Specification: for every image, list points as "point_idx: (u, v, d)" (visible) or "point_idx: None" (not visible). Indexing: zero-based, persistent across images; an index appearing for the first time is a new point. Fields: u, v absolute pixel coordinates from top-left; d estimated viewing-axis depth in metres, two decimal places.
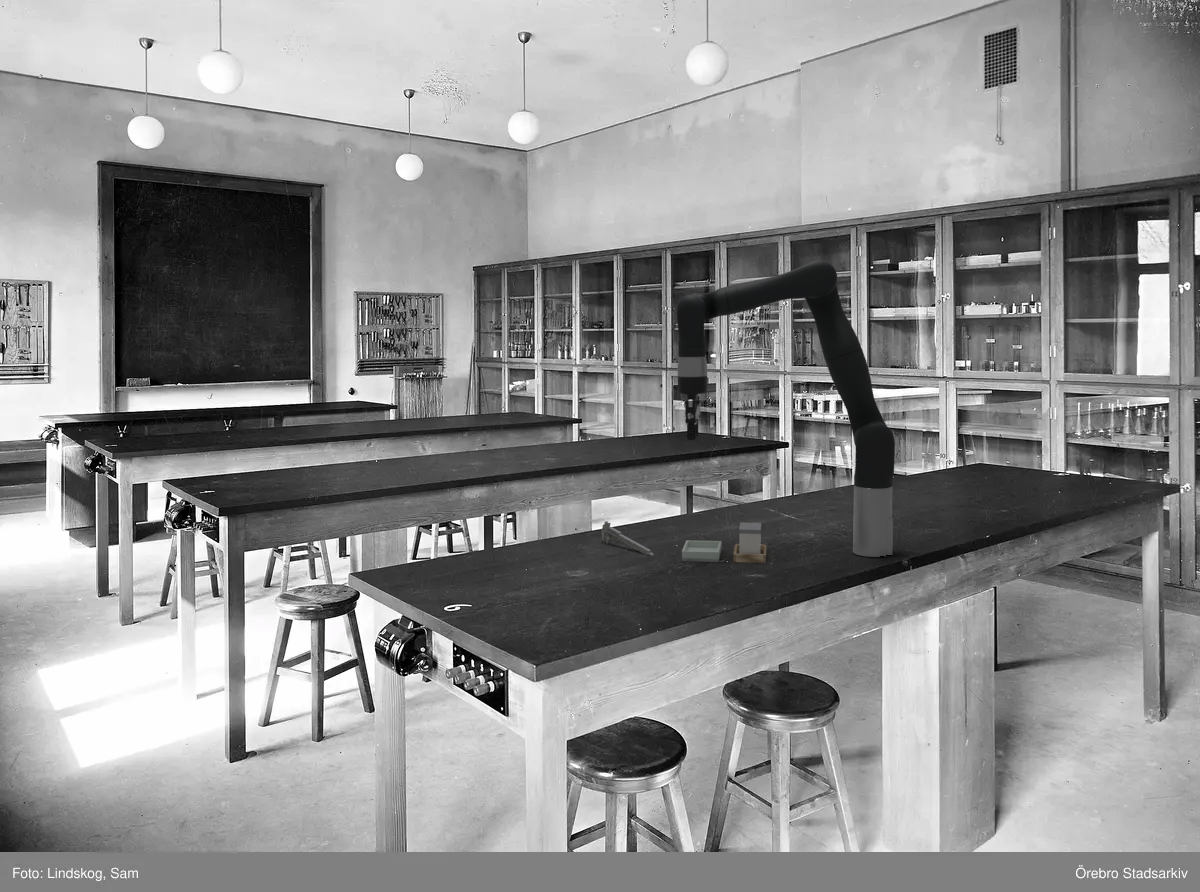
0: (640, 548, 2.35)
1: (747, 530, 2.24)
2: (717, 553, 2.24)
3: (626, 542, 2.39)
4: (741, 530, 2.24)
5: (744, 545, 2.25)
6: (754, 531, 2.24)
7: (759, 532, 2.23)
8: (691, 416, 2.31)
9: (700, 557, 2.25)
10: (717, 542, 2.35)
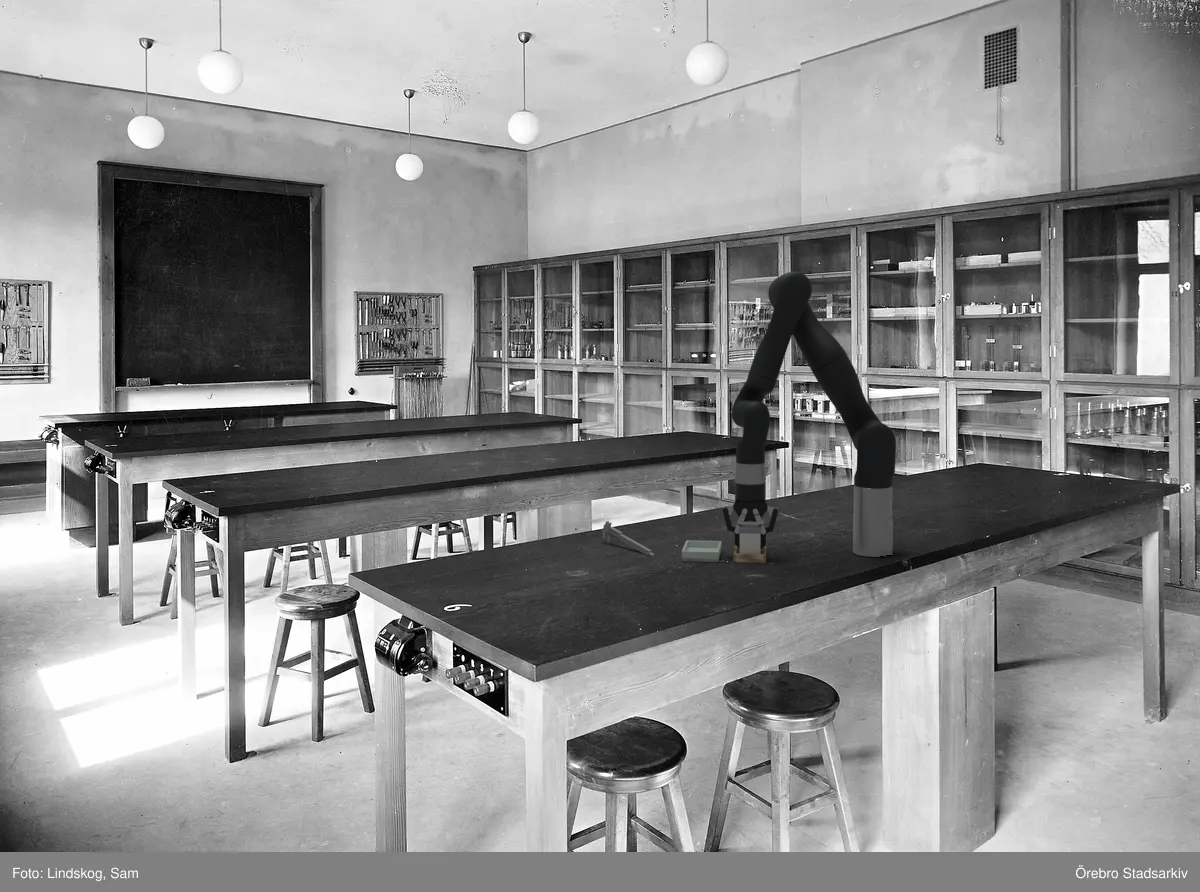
0: (640, 548, 2.35)
1: (747, 530, 2.24)
2: (717, 553, 2.24)
3: (627, 542, 2.39)
4: (741, 530, 2.24)
5: (744, 545, 2.25)
6: (754, 531, 2.24)
7: (759, 532, 2.23)
8: None
9: (700, 557, 2.25)
10: (717, 542, 2.35)
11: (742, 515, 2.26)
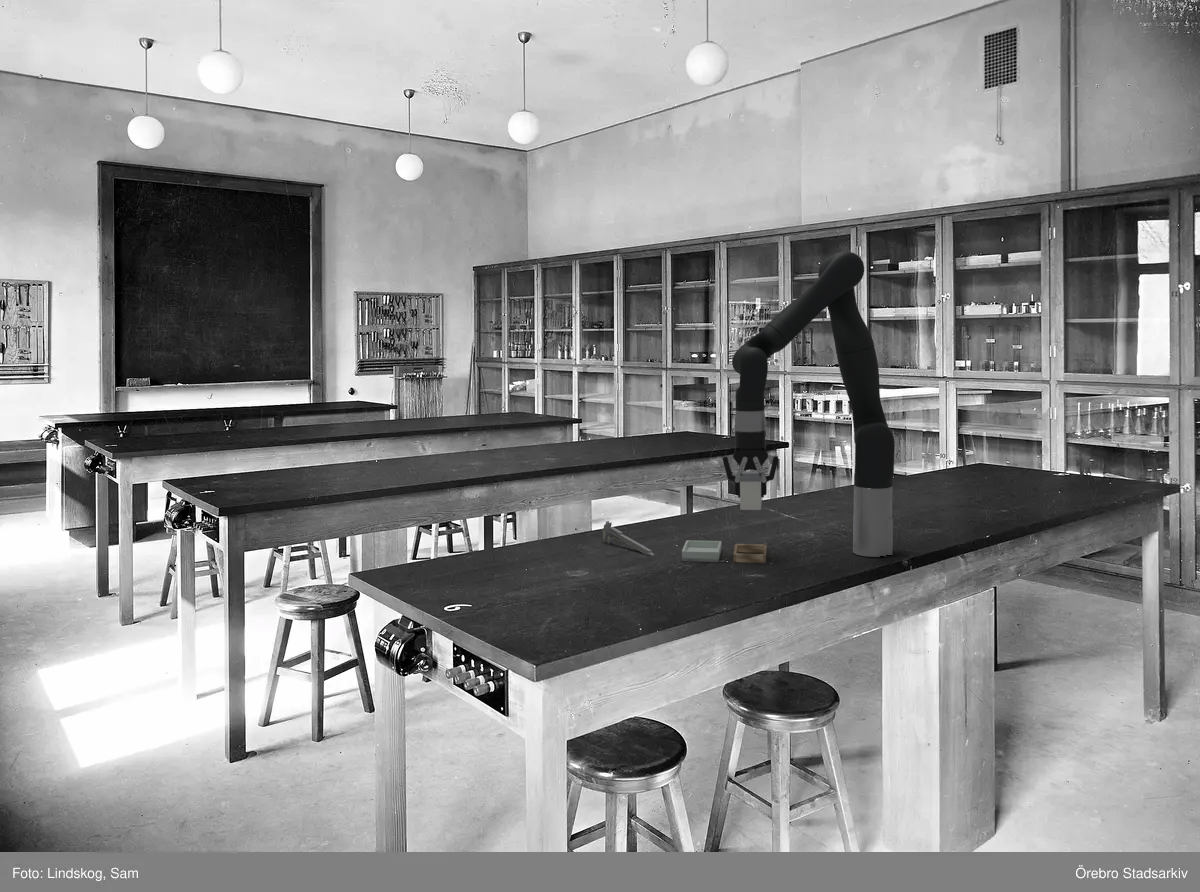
0: (641, 548, 2.35)
1: (748, 478, 2.22)
2: (717, 553, 2.24)
3: (627, 542, 2.39)
4: (742, 478, 2.22)
5: (745, 493, 2.23)
6: (755, 479, 2.22)
7: (760, 480, 2.22)
8: None
9: (700, 557, 2.25)
10: (717, 542, 2.35)
11: (742, 463, 2.24)
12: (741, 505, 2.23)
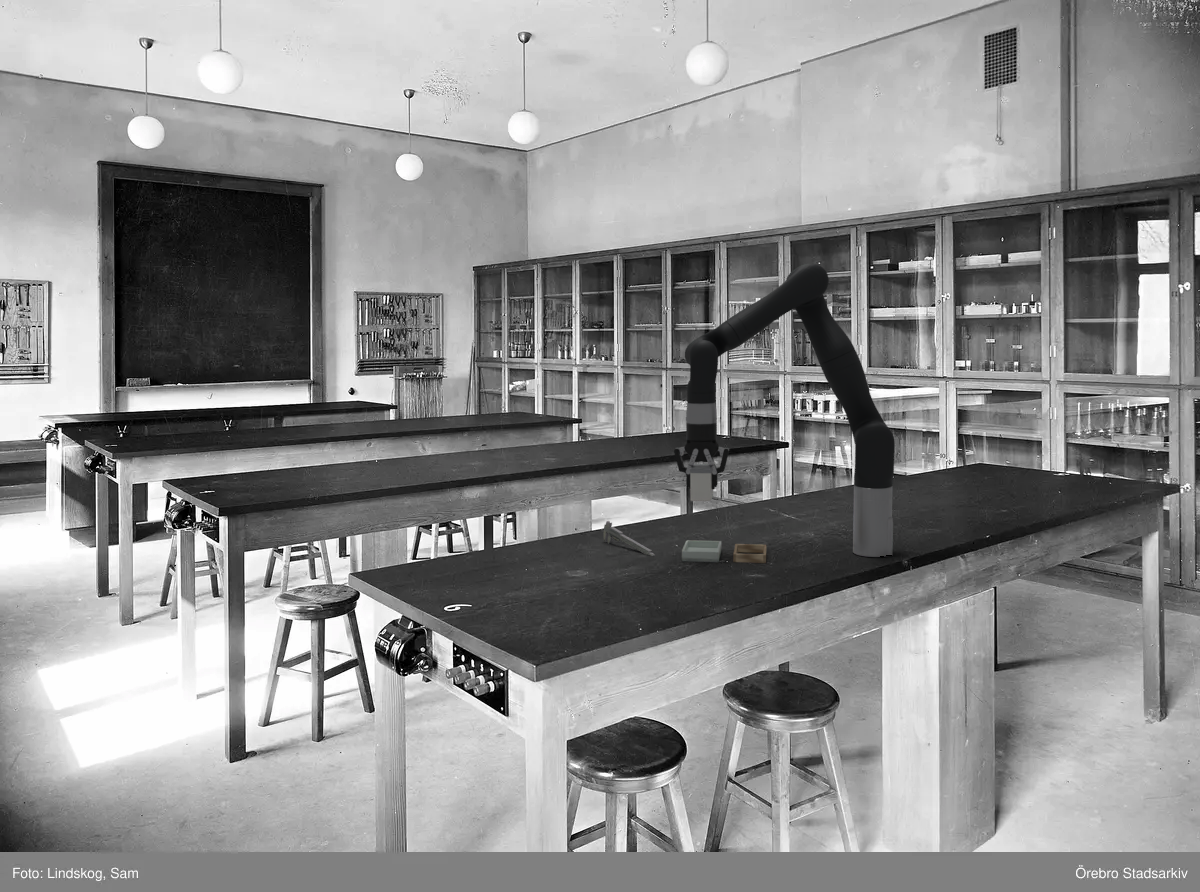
0: (641, 548, 2.35)
1: (698, 469, 2.24)
2: (717, 553, 2.24)
3: (627, 542, 2.39)
4: (692, 470, 2.25)
5: (695, 485, 2.25)
6: (705, 470, 2.24)
7: (710, 471, 2.24)
8: None
9: (700, 557, 2.25)
10: (717, 542, 2.35)
11: (693, 455, 2.27)
12: (692, 496, 2.26)
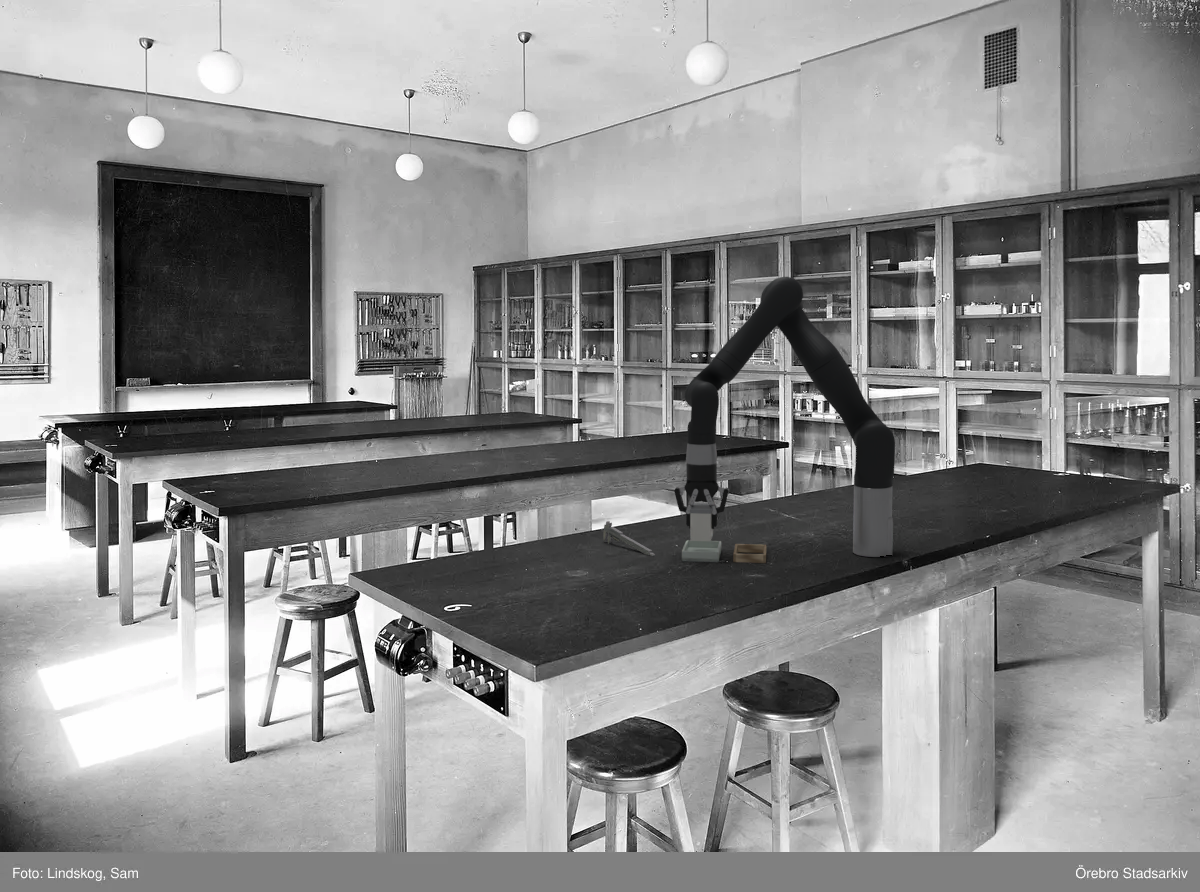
0: (641, 548, 2.35)
1: (698, 510, 2.26)
2: (717, 553, 2.24)
3: (627, 542, 2.39)
4: (692, 510, 2.26)
5: (695, 525, 2.26)
6: (705, 511, 2.25)
7: (709, 512, 2.25)
8: None
9: (700, 557, 2.25)
10: (717, 542, 2.35)
11: (693, 495, 2.28)
12: (692, 536, 2.27)
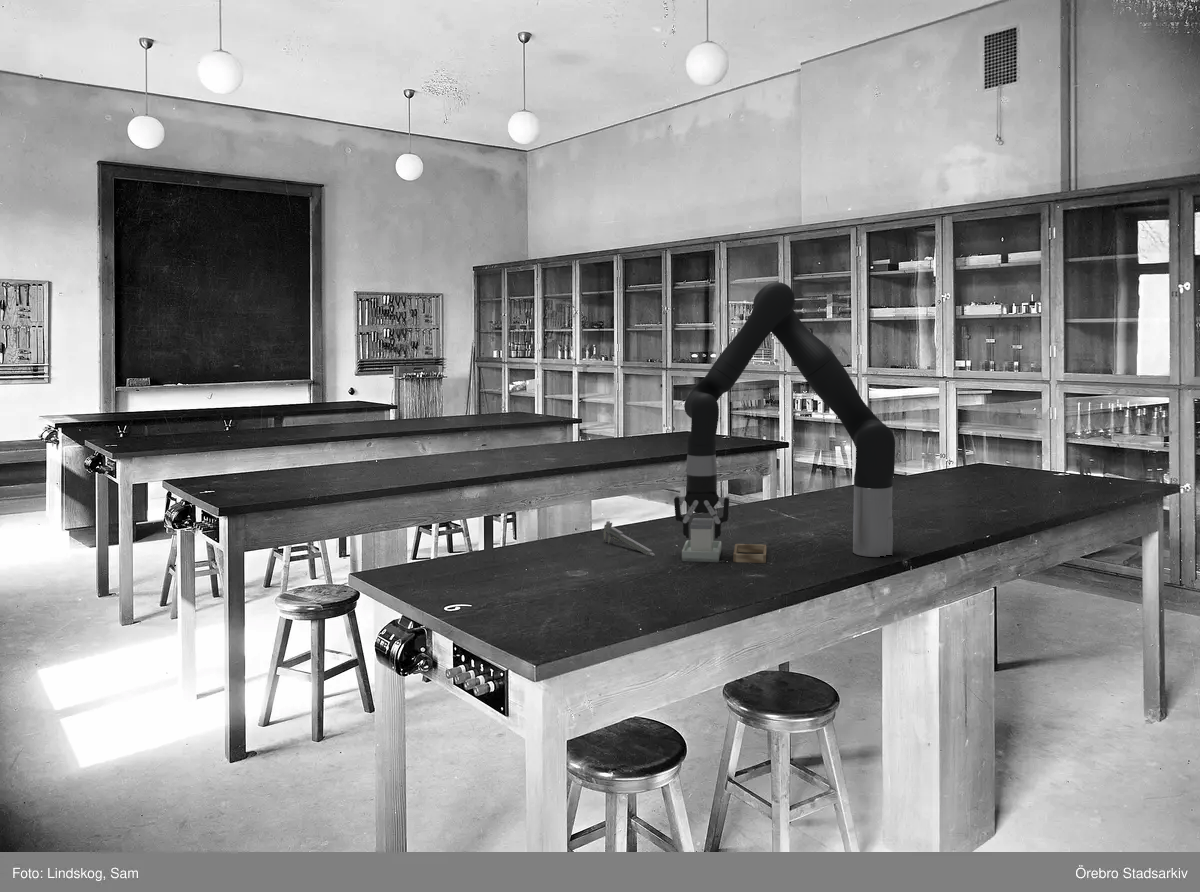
0: (641, 548, 2.35)
1: (698, 525, 2.26)
2: (717, 553, 2.24)
3: (627, 542, 2.39)
4: (692, 525, 2.26)
5: (695, 540, 2.27)
6: (705, 526, 2.26)
7: (710, 527, 2.26)
8: None
9: (700, 557, 2.25)
10: (717, 542, 2.35)
11: (692, 506, 2.28)
12: None
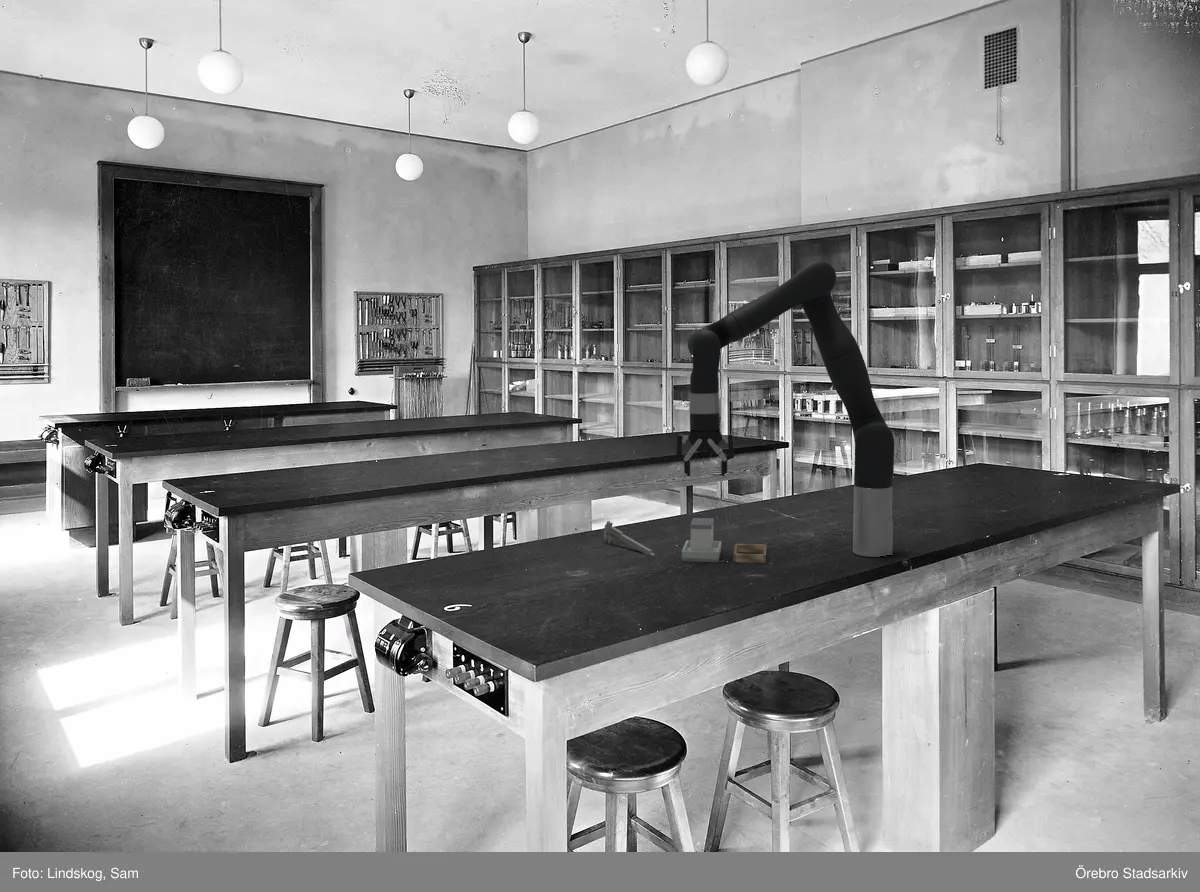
0: (641, 548, 2.35)
1: (698, 525, 2.26)
2: (717, 553, 2.24)
3: (628, 542, 2.39)
4: (692, 525, 2.26)
5: (695, 540, 2.27)
6: (705, 526, 2.26)
7: (710, 527, 2.26)
8: None
9: (700, 557, 2.25)
10: (717, 542, 2.35)
11: (695, 445, 2.27)
12: None
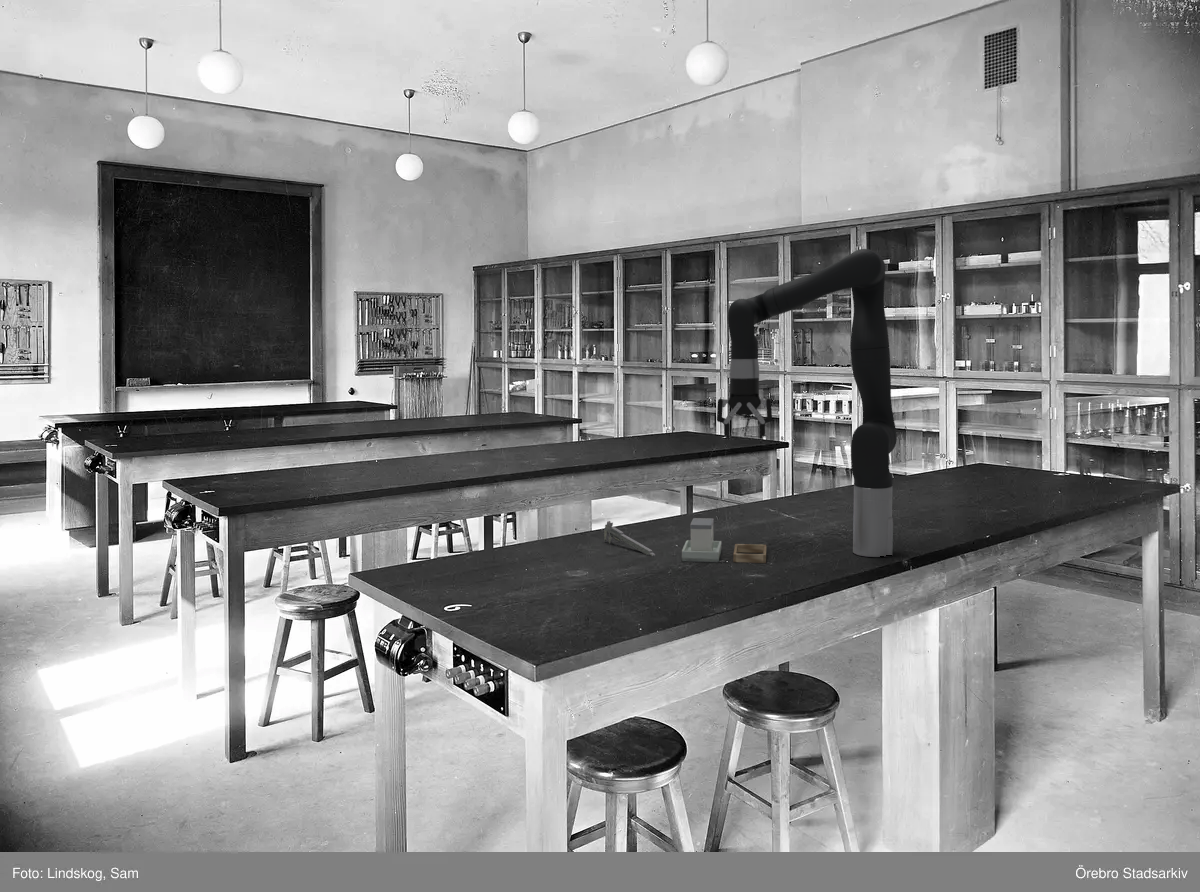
0: (641, 548, 2.35)
1: (698, 525, 2.26)
2: (717, 553, 2.24)
3: (628, 542, 2.39)
4: (692, 525, 2.26)
5: (695, 540, 2.27)
6: (705, 526, 2.26)
7: (710, 527, 2.26)
8: None
9: (700, 557, 2.25)
10: (717, 542, 2.35)
11: (735, 408, 2.38)
12: None
